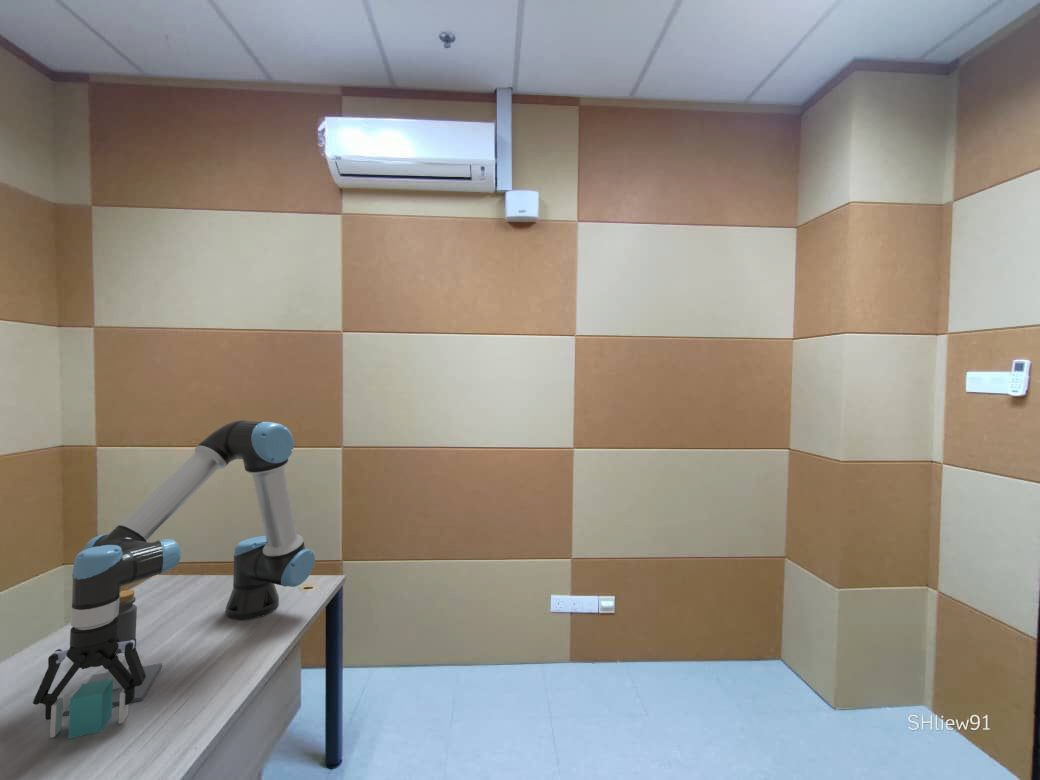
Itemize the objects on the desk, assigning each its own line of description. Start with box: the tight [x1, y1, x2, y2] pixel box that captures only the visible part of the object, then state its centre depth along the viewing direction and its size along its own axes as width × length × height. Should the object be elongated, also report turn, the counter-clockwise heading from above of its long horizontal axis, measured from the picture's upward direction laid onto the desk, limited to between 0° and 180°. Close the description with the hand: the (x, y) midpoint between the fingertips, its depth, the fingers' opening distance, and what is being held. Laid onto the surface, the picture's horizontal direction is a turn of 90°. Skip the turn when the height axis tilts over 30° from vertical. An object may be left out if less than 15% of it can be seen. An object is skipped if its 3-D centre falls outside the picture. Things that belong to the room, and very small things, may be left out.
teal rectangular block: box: [67, 679, 113, 739], centre depth 96 cm, size 5×5×8 cm
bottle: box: [115, 589, 138, 654], centre depth 125 cm, size 6×6×15 cm
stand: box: [62, 655, 164, 717], centre depth 108 cm, size 14×14×7 cm
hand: (90, 725), depth 96 cm, fingers open, 10 cm apart
